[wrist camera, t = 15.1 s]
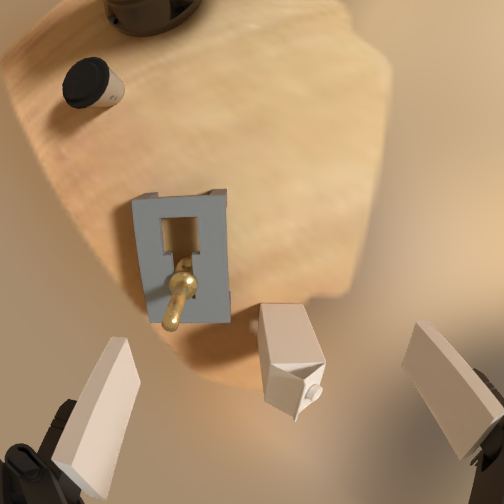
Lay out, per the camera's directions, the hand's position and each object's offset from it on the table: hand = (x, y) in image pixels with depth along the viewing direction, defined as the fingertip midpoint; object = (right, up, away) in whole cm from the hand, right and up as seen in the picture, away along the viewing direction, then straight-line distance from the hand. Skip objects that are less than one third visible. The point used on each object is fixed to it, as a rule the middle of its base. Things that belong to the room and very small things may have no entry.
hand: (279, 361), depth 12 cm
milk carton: (+3, -7, +37) cm, 37 cm away
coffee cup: (-22, +28, +23) cm, 42 cm away
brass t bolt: (-11, +2, +31) cm, 33 cm away
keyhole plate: (-11, +5, +31) cm, 33 cm away
